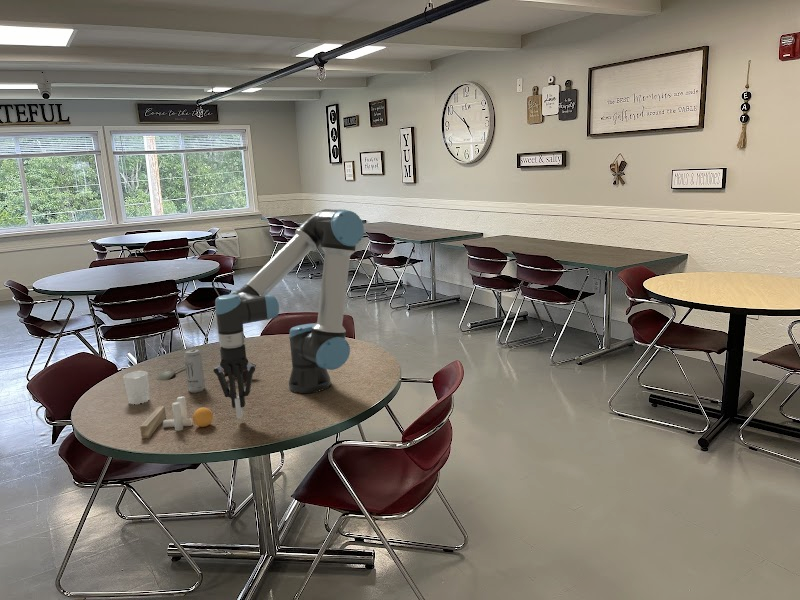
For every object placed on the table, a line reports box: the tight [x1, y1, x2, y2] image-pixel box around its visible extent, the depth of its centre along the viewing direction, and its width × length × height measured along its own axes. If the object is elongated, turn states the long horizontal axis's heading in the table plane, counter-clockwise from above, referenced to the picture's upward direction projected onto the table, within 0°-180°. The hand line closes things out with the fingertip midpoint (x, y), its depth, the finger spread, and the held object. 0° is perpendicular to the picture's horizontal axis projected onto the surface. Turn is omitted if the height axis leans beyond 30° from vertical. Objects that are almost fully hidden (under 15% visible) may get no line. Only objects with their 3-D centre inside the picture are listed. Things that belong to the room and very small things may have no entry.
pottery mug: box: [222, 362, 256, 384], centre depth 231 cm, size 12×10×8 cm
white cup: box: [123, 370, 150, 405], centre depth 213 cm, size 8×8×10 cm
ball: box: [192, 407, 214, 428], centre depth 189 cm, size 6×6×6 cm
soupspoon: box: [156, 365, 185, 381], centre depth 246 cm, size 22×3×7 cm
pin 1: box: [176, 396, 188, 419], centre depth 192 cm, size 2×2×8 cm
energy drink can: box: [183, 348, 206, 393], centre depth 221 cm, size 6×6×15 cm
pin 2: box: [171, 401, 184, 432], centre depth 187 cm, size 2×2×8 cm
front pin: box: [162, 417, 194, 428], centre depth 191 cm, size 2×2×8 cm
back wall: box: [139, 405, 167, 439], centre depth 190 cm, size 2×16×4 cm, turn 3°
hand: (240, 416), depth 191 cm, fingers closed
